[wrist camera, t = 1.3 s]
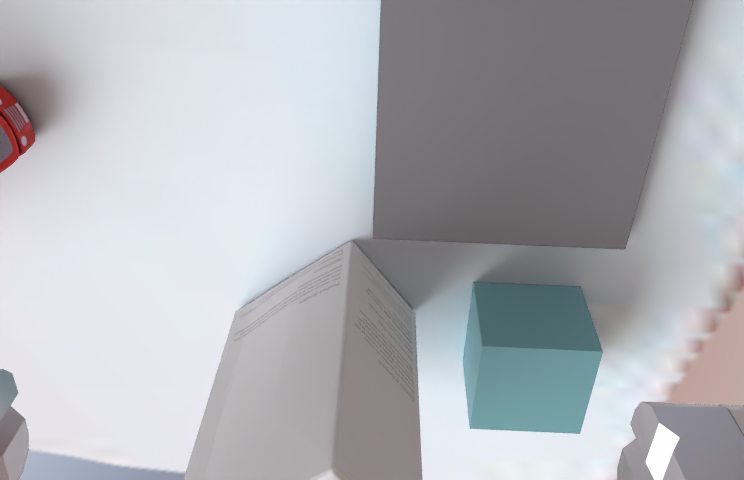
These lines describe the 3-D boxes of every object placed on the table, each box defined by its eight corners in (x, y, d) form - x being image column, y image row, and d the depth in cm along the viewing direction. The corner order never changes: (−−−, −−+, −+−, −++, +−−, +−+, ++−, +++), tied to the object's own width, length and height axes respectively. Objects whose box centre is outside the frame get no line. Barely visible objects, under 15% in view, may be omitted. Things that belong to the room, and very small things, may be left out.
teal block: (473, 280, 37) (482, 346, 33) (579, 285, 37) (602, 351, 33) (462, 359, 40) (469, 428, 36) (561, 363, 40) (579, 433, 36)
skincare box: (301, 372, 41) (257, 636, 28) (229, 303, 38) (147, 563, 26) (423, 306, 38) (434, 570, 25) (355, 228, 35) (330, 479, 23)
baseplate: (382, -30, 28) (381, -23, 27) (685, -19, 28) (696, -11, 27) (373, 225, 35) (372, 238, 34) (619, 235, 35) (625, 249, 34)
